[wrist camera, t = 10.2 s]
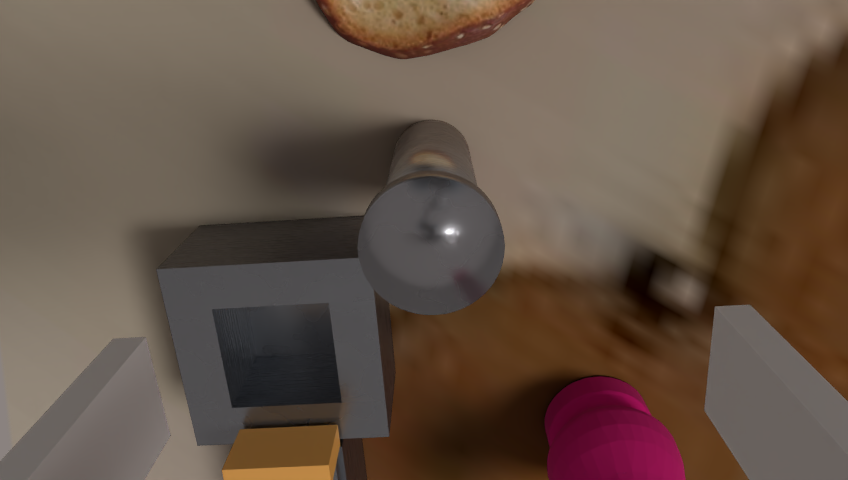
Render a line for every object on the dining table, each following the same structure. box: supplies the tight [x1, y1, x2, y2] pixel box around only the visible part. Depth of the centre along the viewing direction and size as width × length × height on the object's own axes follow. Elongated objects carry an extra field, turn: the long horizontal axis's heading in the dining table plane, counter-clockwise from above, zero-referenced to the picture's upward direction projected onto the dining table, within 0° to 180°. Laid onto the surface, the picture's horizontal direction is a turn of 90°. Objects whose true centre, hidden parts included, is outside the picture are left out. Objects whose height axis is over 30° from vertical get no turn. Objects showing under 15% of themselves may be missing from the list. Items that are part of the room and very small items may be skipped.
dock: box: [156, 216, 396, 480], centre depth 36 cm, size 22×10×7 cm, turn 4°
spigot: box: [358, 120, 505, 315], centre depth 28 cm, size 5×5×13 cm
